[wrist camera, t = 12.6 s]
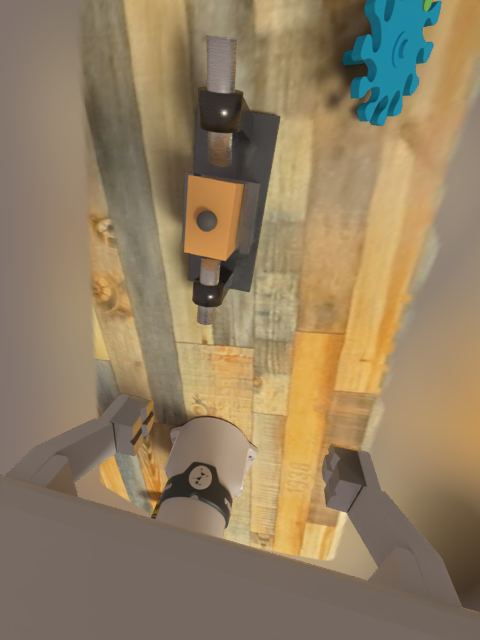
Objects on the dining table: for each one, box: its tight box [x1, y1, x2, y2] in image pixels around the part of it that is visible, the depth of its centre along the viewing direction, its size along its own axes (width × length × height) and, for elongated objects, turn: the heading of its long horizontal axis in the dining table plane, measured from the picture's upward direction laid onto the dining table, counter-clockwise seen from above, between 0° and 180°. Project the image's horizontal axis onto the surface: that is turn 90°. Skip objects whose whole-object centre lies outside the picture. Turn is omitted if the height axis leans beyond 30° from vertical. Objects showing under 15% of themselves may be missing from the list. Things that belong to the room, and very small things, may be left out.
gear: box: [343, 0, 442, 126], centre depth 22 cm, size 11×6×10 cm
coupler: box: [184, 175, 244, 261], centre depth 26 cm, size 7×4×6 cm, turn 171°
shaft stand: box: [182, 35, 280, 325], centre depth 28 cm, size 25×9×11 cm, turn 172°
